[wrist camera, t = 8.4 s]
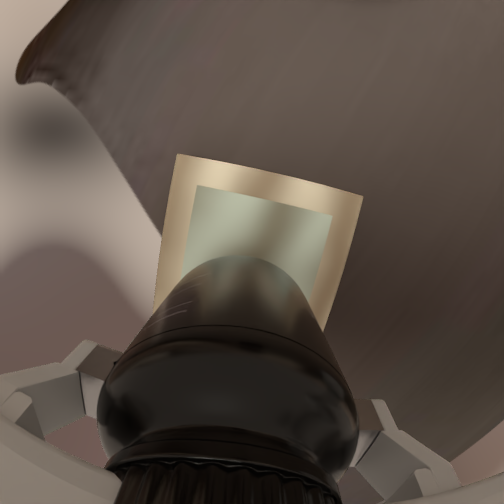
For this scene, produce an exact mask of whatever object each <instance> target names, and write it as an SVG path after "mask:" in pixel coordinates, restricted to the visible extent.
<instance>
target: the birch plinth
mask: <svg viewBox="0 0 504 504" xmlns="http://www.w3.org/2000/svg"><path fill="white" fill-rule="evenodd" d="M362 200H363V196H361V195H357V194H354V193H350V192H347V191H343V190H340V189H336V188H332V187H329V186H325V185H321V184H317V183H313V182H310V181H306V180H302V179H298V178H294V177H289V176H285V175H281V174H277V173H273V172H268V171H264V170H259V169H255V168H250V167H245V166H241V165H236V164H231V163H226V162H221V161H215V160H210V159H205V158H199V157H194V156H188V155H182V154H177V158H176V162H175V167H174V172H173V177H172V182H171V188H170V193H169V199H168V204H167V210H166V216H165V222H164V228H163V235H162V241H161V249H160V256H159V263H158V271H157V279H156V288H155V296H154V306H153V314H154V312H155V311H156V310H157V309H158V307H159V306H160V305H161V303H162V302H163V301H164V300H165V298H166V297H167V296H168V295H169V293H170V292H171V291H172V290H173V288H174V287H175V286H176V285H177V284H178V283H179V281H180V280H181V279H182V278H183V277H184V276H185V275H186V274H187V273H189V272H190V271H191V270H192V269H194V268H195V267H197V266H198V265H200V264H202V263H204V262H206V261H209V260H211V259H214V258H218V257H223V256H230V255H244V256H251V257H256V258H259V259H263V260H265V261H268V262H270V263H272V264H274V265H276V266H277V267H279V268H280V269H282V270H283V271H285V272H286V273H287V274H288V275H289V276H290V277H291V278H292V279H293V280H294V281H295V282H296V283H297V285H298V286H299V287H300V289H301V290H302V292H303V294H304V296H305V297H306V299H307V301H308V303H309V305H310V307H311V309H312V311H313V313H314V315H315V317H316V319H317V321H318V323H319V325H320V327H321V330H322V332H323V331H324V328H325V325H326V322H327V319H328V316H329V313H330V310H331V307H332V304H333V301H334V298H335V295H336V292H337V289H338V286H339V283H340V279H341V276H342V273H343V270H344V266H345V263H346V259H347V256H348V253H349V249H350V246H351V242H352V238H353V235H354V231H355V227H356V224H357V220H358V216H359V212H360V208H361V204H362Z"/></svg>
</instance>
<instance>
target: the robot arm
mask: <svg viewBox="0 0 504 504" xmlns="http://www.w3.org/2000/svg"><path fill="white" fill-rule="evenodd" d="M122 354H123V353H122V352H119V351H117V350H114V349H111V348H108V347H106V346H103V345H99V344H97V343H95V342H92V341H89V340H84V341H83V342H81V343H80V344H79V345H78V346H77V347H76V348H75V349H74V350H73V351H72V353H70V354H69V355H68V356H67V357H66V359H65V360H64V361H63V362H62V363H61V364H60V363H58V362H56V363H51V364H47V365H43V366H38V367H34V368H29V369H25V370H21V371H16V372H11V373H6V374H2V375H0V504H113V503H114V501H115V498H116V496H117V493H118V491H119V488H120V486H121V483H122V482H121V480H120V479H119V478H118V477H117V476H116V475H115V474H114V473H113V472H111V471H108V470H106V469H103V468H101V467H98V466H96V465H93V464H91V463H89V462H86V461H84V460H82V459H80V458H78V457H75V456H73V455H71V454H69V453H67V452H65V451H63V450H61V449H59V448H57V447H55V446H53V445H51V444H49V443H48V442H46V441H45V438H44V436H45V435H47V434H49V433H51V432H54V431H55V430H58V429H60V428H62V427H64V426H66V425H68V424H70V423H72V422H74V421H76V420H78V419H80V418H82V417H84V416H85V415H87V416H90V417H92V418H95V419H97V416H96V410H97V401H98V397H99V393H100V390H101V387H102V385H103V383H104V381H105V379H106V377H107V376H108V374H109V372H110V371H111V369H112V368H113V366H114V365H115V363H116V362H117V361H118V359H119V358H120V356H121V355H122ZM354 402H355V405H356V408H357V411H358V416H359V425H360V426H359V439H358V445H357V448H356V452H355V455H354V457H353V460H352V462H351V464H350V466H349V467H355V468H356V469H357V470H358V471H359V473H360V474H361V475H362V476H363V477H364V478H365V479H366V480H367V481H368V482H369V483H370V485H371V486H372V487H373V488H374V489H375V490H376V491H377V492H378V493H379V494H380V495H381V496H382V497H383V498H384V499H385V500H386V502H385V503H384V504H504V472H502V473H499V474H497V475H494V476H492V477H489V478H486V479H483V480H481V481H478V482H475V483H472V484H469V485H466V486H462V485H461V483H460V481H459V479H458V477H457V475H456V473H455V471H454V470H453V468H452V466H451V464H450V463H449V462H448V461H446V460H445V459H443V458H442V457H440V456H439V455H437V454H436V453H434V452H433V451H431V450H430V449H428V448H427V447H426V446H424V445H423V444H421V443H420V442H418V441H417V440H415V439H414V438H413V437H411V436H410V435H408V434H407V433H405V432H404V431H403V430H398V428H397V426H396V424H395V422H394V420H393V418H392V416H391V414H390V412H389V409H388V407H387V405H386V403H385V402H384V401H383V400H382V399H354Z"/></svg>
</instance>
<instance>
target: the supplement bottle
mask: <svg viewBox="0 0 504 504" xmlns="http://www.w3.org/2000/svg"><path fill="white" fill-rule="evenodd" d="M96 416H97V428H98V433H99V437H100V440H101V444H102V447H103V449H104V451H105V453H106V455H107V457H108V459H109V460H108V461H107V463H106V465H105V467H104V468H103V469H106V470H108V471H111V472H113V473H114V474H115V475H116V476H117V477H118V478H119V479H120V480H121V482H122V483H121V486H120V488H119V491H118V493H117V496H116V498H115V501H114V503H113V504H342V500H341V496H340V492H339V488H338V485H337V483H338V482H339V481H340V480H341V478H342V477H343V476H344V474H345V473H346V471H347V470H348V468H349V466H350V464H351V462H352V460H353V457H354V455H355V452H356V448H357V445H358V439H359V426H360V425H359V416H358V411H357V408H356V405H355V402H354V399H353V396H352V393H351V391H350V389H349V386H348V384H347V382H346V380H345V378H344V376H343V374H342V371H341V369H340V367H339V365H338V363H337V361H336V359H335V357H334V355H333V352H332V350H331V348H330V346H329V344H328V342H327V340H326V338H325V336H324V334H323V332H322V330H321V327H320V325H319V323H318V321H317V319H316V317H315V315H314V313H313V311H312V309H311V307H310V305H309V303H308V301H307V299H306V297H305V296H304V294H303V292H302V290H301V289H300V287H299V286H298V285H297V283H296V282H295V281H294V280H293V279H292V278H291V277H290V276H289V275H288V274H287V273H286V272H285V271H283V270H282V269H280V268H279V267H277V266H276V265H274V264H272V263H270V262H268V261H265V260H263V259H259V258H256V257H251V256H244V255H230V256H223V257H218V258H214V259H211V260H209V261H206V262H204V263H202V264H200V265H198V266H197V267H195V268H194V269H192V270H191V271H190V272H189V273H187V274H186V275H185V276H184V277H183V278H182V279H181V280H180V281H179V283H178V284H177V285H176V286H175V287H174V288H173V290H172V291H171V292H170V293H169V295H168V296H167V297H166V298H165V300H164V301H163V302H162V303H161V305H160V306H159V307H158V309H157V310H156V311H155V312H154V314H153V315H152V316H151V318H150V319H149V320H148V321H147V323H146V324H145V325H144V326H143V328H142V329H141V330H140V332H139V333H138V334H137V335H136V337H135V338H134V340H133V341H132V342H131V344H130V345H129V346H128V347H127V349H126V350H125V351H124V352H123V354H122V355H121V356H120V358H119V359H118V361H117V362H116V363H115V365H114V366H113V368H112V369H111V371H110V372H109V374H108V376H107V377H106V379H105V381H104V383H103V385H102V387H101V390H100V393H99V397H98V401H97V410H96Z"/></svg>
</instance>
